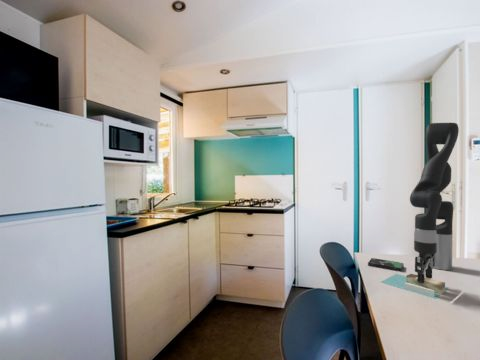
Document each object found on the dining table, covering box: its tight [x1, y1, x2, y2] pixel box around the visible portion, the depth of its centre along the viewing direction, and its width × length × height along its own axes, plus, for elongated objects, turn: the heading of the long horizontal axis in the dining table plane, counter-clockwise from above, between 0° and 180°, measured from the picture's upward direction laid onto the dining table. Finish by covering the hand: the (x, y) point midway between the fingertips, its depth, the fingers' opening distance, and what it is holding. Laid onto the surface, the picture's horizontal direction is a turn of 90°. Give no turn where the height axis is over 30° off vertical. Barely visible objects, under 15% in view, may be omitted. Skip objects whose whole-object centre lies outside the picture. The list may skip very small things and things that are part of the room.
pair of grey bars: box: [405, 283, 435, 297], centre depth 109 cm, size 13×10×2 cm
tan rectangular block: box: [405, 273, 446, 295], centre depth 109 cm, size 12×4×4 cm, turn 37°
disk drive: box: [367, 257, 404, 273], centre depth 136 cm, size 10×3×15 cm
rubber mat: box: [380, 273, 450, 300], centre depth 112 cm, size 16×20×1 cm
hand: (424, 280), depth 109 cm, fingers open, 8 cm apart
